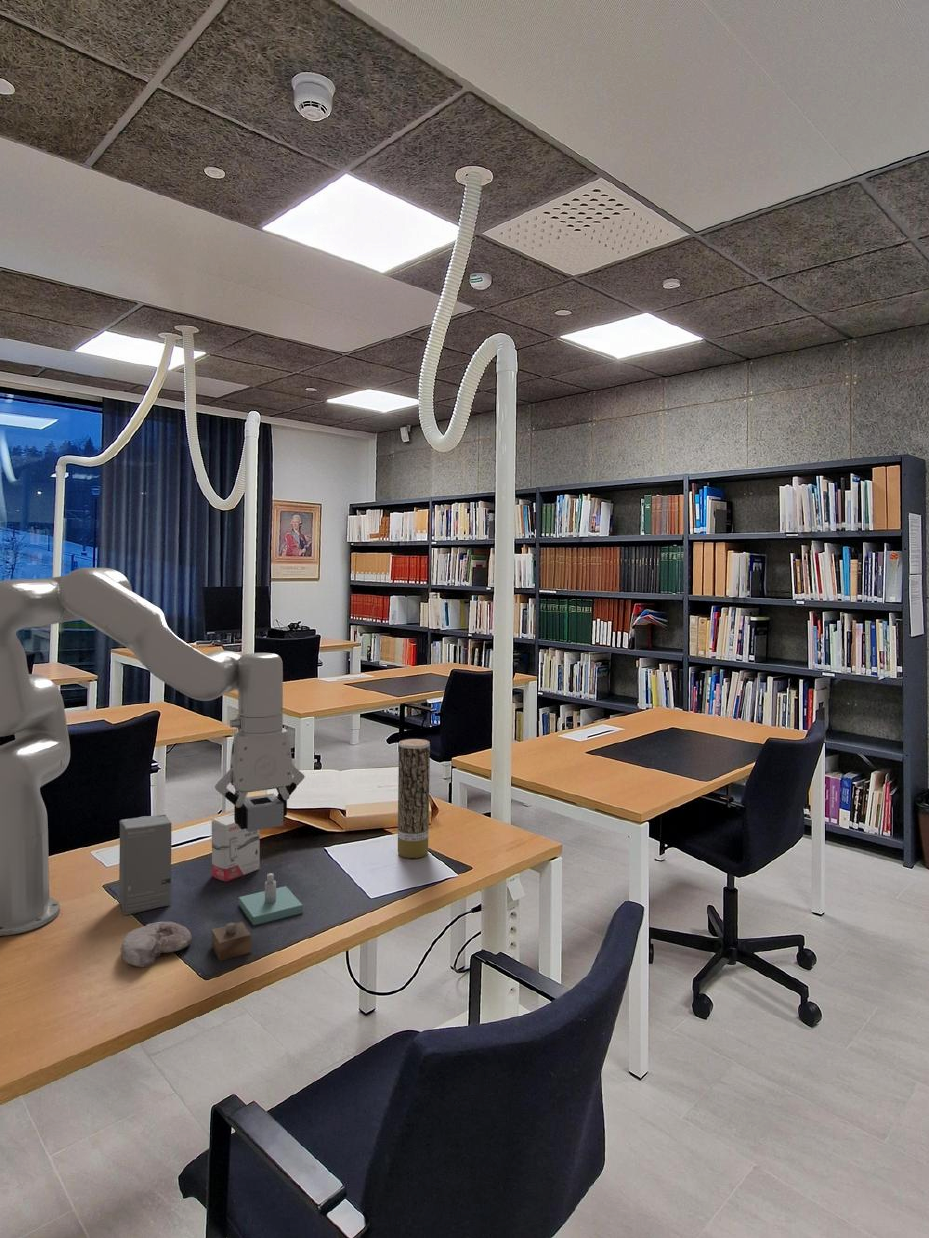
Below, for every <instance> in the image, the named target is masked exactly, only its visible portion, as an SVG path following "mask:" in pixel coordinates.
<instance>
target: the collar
mask: <svg viewBox="0 0 929 1238" xmlns="http://www.w3.org/2000/svg"><path fill="white" fill-rule="evenodd" d="M276 796H277V795H276V794H274V793H266V794H261V795H254V796H248V797H247V796H246V797H245V800H244V802H243V803H244V807H245V829H246V830H247V831H248V832H250V831H255V830H260V831H261V830H266V829H271V828H272V829H273V828H277V827H284V823H285V821H284V803H283V802H282V801H281V800H279V799H278V798H277V797H276Z"/></svg>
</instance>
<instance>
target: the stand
mask: <svg viewBox="0 0 929 1238" xmlns="http://www.w3.org/2000/svg"><path fill="white" fill-rule="evenodd" d="M211 949H212V951H214V953H215V956H216V958H217V959H218V960H219V961H220V962H221V961H224V960H228V959H229V960H230V959H232V958H235V957H239V956H242V955H243V956H244V955H246V954H250V953H252V935H251V933H250V931H249V930H248V929H247V927H246V926H245V924H244V922H243V921H239V922H236V923H235V922H228V923H227V924H226V925H224V926H221V927H216V928H212V929H211Z"/></svg>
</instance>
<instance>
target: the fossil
mask: <svg viewBox="0 0 929 1238" xmlns="http://www.w3.org/2000/svg"><path fill="white" fill-rule="evenodd" d="M192 939H193V937H192V933H191V931H190V930H189V929H188V928H187V927H186V926H184V925H182V924H180V923H177V922H173V921H157V922H153V923H152V922H151V923H147V924H146V925H145V926H141V927H137V928H134V929H132V930H131V931H129V932H127V933H126V934H125V938H123V940H122V943H121V946H120V953H121V956H122V960H124V961H125V962H126V963H128V964H129V965H132V966H134V967H135V966H136V967H139V968H145V967H150V966H151V965H153V964H154V963H155V960H156V958H159V957H160V955H161V954H162V953H163V954H164V953H174V952H178V951H181V950H183V949H185V948H187V947H188V946H189V945H191V943H192Z"/></svg>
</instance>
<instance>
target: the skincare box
mask: <svg viewBox="0 0 929 1238" xmlns="http://www.w3.org/2000/svg"><path fill="white" fill-rule="evenodd" d="M118 864H119V866H118V867H119V869H118V870H119V871H118V873H119V874H118V876H119V877H118V902H119V904H120V907H121V910H122V912H123V914H124V916H129V915H132V914H136V913H141V912H145V911H146V912H147V911H151V910H154V909H158V908H162V907H168V906H171V902H172V901H171V900H172V899H171V898H172V895H171V894H172V893H171V891H172V890H171V889H172V821H171V820H170V818H169V817H168V816H167V815H166V814H157V815H149V816H147V815H144V816H139V817H132V818H125V819H124V818H123V819H120V820H119V863H118Z"/></svg>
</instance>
